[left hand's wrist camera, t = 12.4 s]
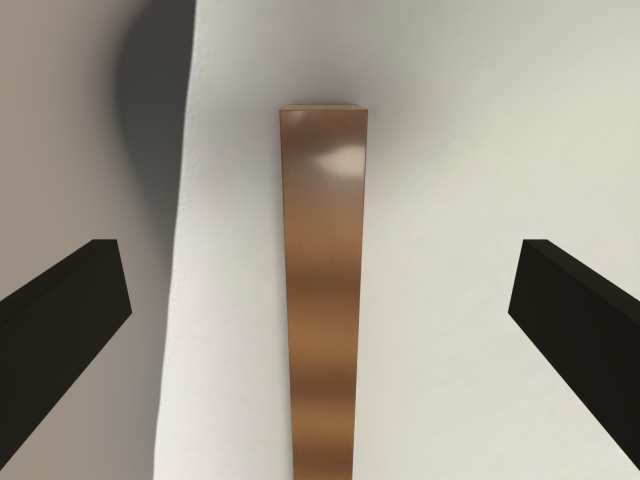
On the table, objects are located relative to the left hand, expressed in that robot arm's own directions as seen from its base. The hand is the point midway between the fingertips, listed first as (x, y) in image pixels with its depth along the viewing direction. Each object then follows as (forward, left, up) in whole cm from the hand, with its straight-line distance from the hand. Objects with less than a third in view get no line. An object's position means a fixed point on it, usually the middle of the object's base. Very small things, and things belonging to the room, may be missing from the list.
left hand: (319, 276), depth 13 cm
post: (+36, +8, -22) cm, 43 cm away
